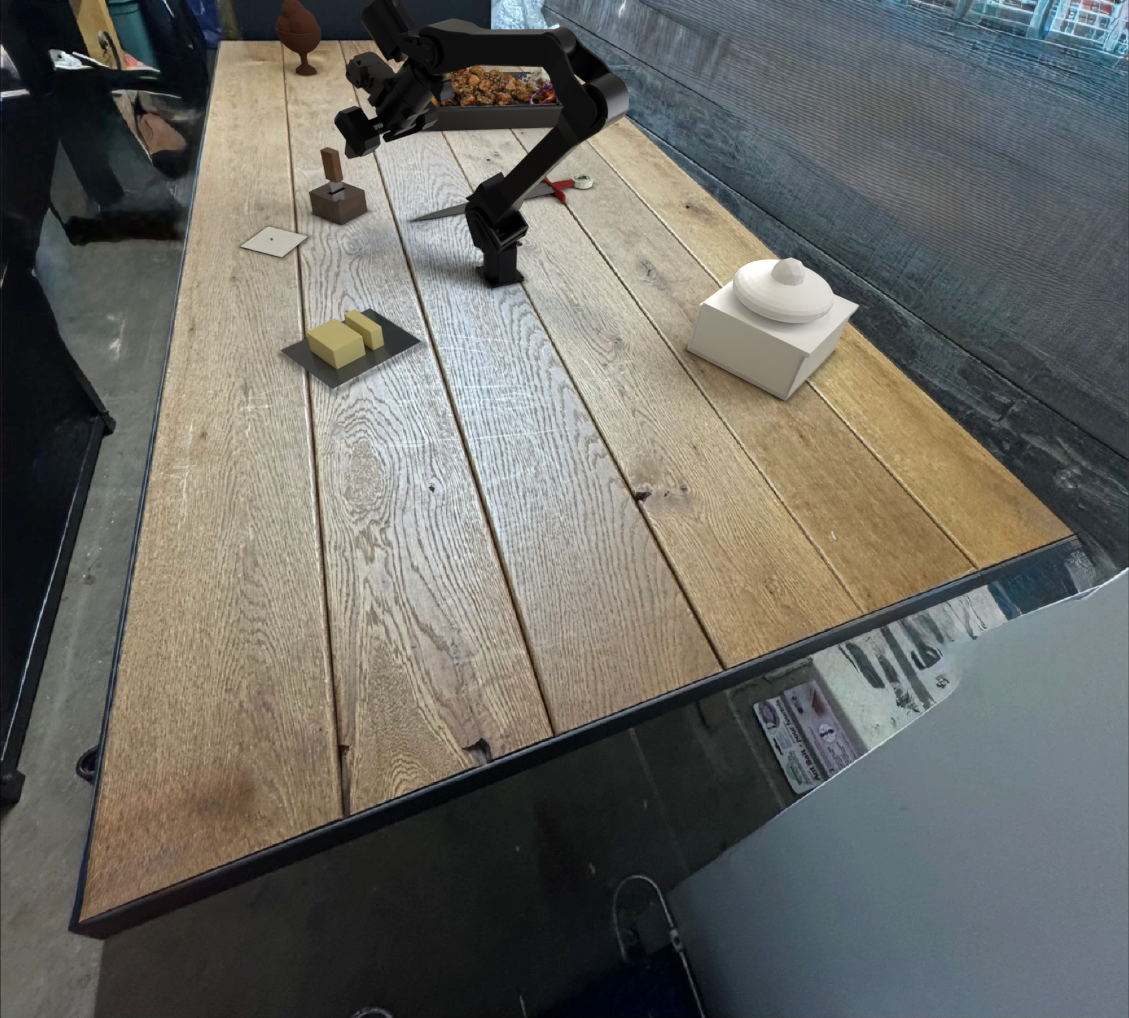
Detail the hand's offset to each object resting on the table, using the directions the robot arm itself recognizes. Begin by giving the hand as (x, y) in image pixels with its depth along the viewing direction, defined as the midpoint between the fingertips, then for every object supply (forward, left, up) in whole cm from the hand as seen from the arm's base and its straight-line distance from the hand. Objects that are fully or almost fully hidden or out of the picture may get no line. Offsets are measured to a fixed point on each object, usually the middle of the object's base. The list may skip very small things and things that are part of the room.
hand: (366, 147), depth 110 cm
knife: (+7, +5, -14) cm, 16 cm away
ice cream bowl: (+84, -10, -14) cm, 86 cm away
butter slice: (-34, +13, -13) cm, 38 cm away
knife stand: (+7, +5, -14) cm, 16 cm away
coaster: (0, +18, -14) cm, 23 cm away
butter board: (-35, +16, -14) cm, 40 cm away
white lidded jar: (-60, -42, -14) cm, 75 cm away
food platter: (+47, -45, -14) cm, 67 cm away
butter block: (-35, +18, -13) cm, 42 cm away
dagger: (+1, -27, -14) cm, 31 cm away
